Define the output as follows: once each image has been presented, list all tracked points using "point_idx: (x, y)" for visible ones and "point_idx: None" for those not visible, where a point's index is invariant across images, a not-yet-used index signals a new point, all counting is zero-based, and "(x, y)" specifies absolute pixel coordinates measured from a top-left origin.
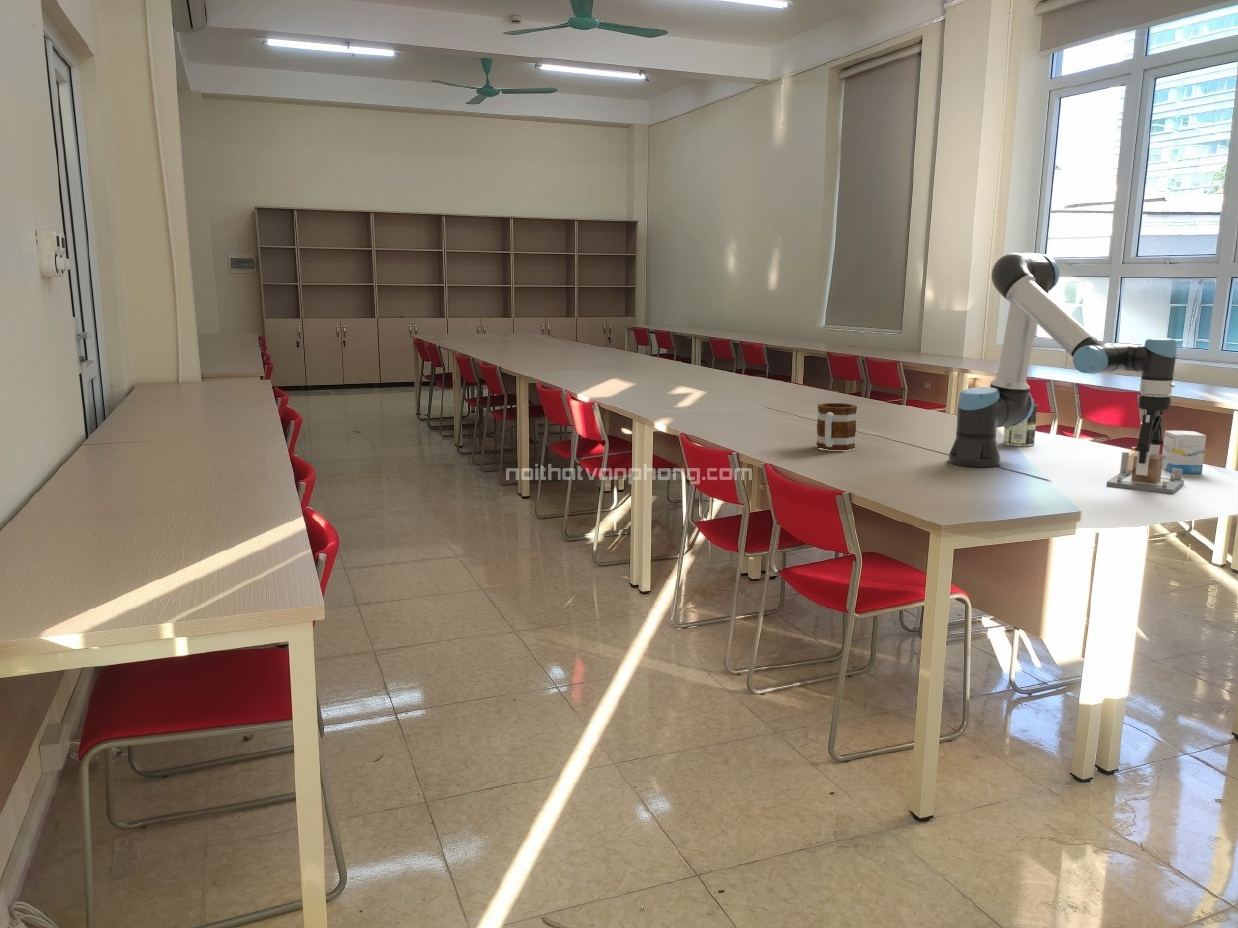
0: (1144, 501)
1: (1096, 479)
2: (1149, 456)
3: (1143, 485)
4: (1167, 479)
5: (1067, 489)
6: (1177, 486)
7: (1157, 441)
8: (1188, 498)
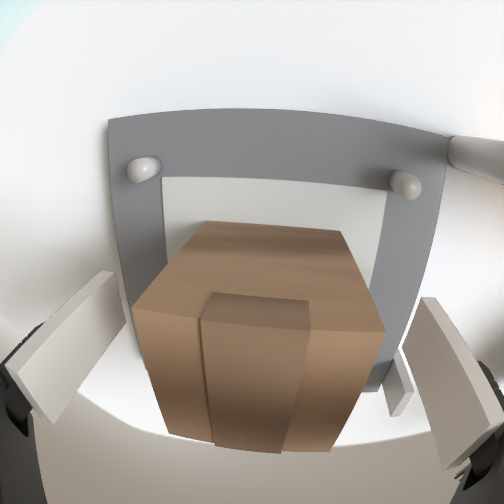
0: (18, 285)
1: (271, 29)
2: (211, 408)
3: (136, 283)
4: None
5: (11, 59)
6: None
7: (477, 476)
8: (132, 383)
